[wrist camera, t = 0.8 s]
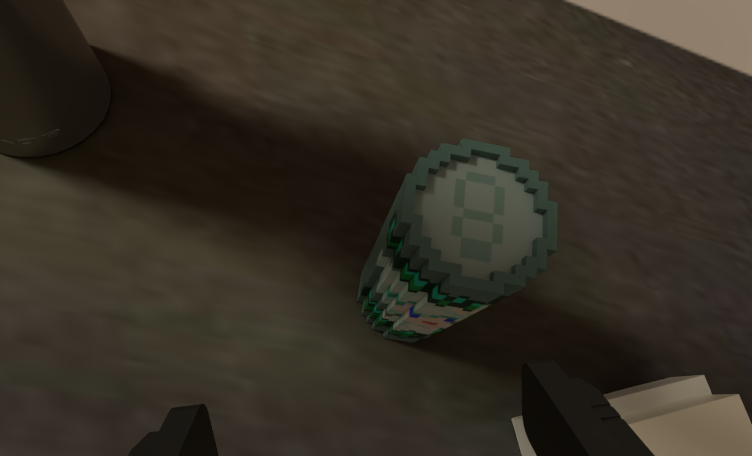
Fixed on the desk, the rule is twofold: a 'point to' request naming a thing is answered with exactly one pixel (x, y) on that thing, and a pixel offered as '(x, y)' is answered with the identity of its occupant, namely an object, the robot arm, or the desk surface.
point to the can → (457, 240)
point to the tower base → (677, 419)
